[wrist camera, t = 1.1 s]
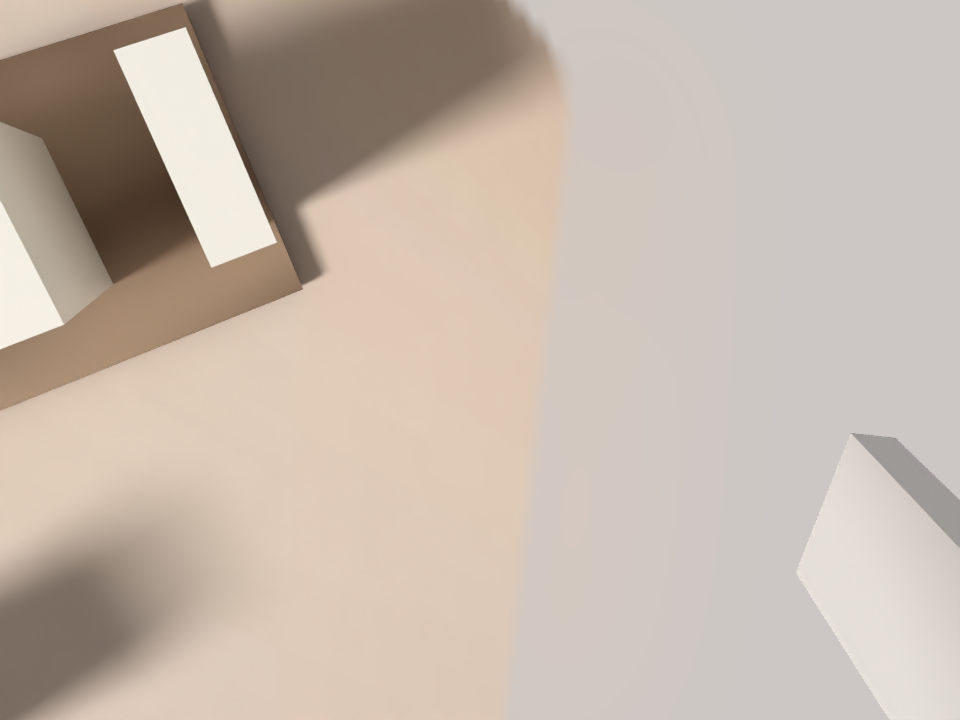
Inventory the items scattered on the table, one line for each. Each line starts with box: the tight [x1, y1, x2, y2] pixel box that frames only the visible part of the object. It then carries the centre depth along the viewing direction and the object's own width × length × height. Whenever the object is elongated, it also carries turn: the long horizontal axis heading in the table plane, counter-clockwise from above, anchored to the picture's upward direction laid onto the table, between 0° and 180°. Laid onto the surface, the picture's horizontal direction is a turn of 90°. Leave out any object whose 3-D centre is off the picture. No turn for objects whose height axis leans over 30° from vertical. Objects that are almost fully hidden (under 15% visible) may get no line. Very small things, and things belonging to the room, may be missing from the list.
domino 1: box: [0, 122, 113, 349], centre depth 22 cm, size 2×5×10 cm, turn 21°
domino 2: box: [113, 27, 277, 268], centre depth 24 cm, size 2×5×10 cm, turn 21°
